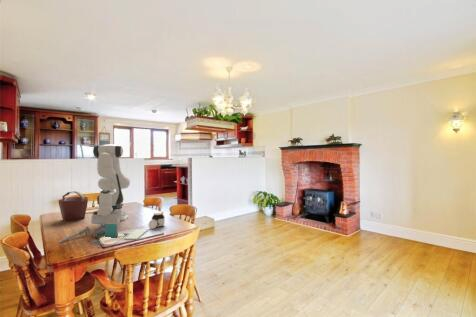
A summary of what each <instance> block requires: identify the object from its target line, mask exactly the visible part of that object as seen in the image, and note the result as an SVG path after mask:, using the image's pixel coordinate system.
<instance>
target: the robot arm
mask: <svg viewBox="0 0 476 317" xmlns="http://www.w3.org/2000/svg"><path fill="white" fill-rule="evenodd" d="M92 153H93V156H94V157H95V158H97V162H96V165H97V166H96V169H97V175H99V176H100V177H101V178H100V179H99V180H98V182H97V184H98V188H99V189H101V191H99V195H97V197H96V199H97V200H96V201H97V202H96V203H97V205H98V209H97V210H93V211H92V212H91V214H92V216H91V218H90V219H91V224H92V225H99V226H100V227H101V226H103V225H105V224H106V223H118V224H120V221H125V220H127V219H128V218H129V216H130V215H128V214H127V210H125V209H124V207H123V206H124V195H123V192H122V190H123V189H127V188H129V187H130V184H131V181H130V179H129V177H127V176H126V175H124V174H123V172H122V170H121V165H120V157H123V154H124V150H123V147H122V145H119V144H97V145H95V146H94V147H93V150H92Z"/></svg>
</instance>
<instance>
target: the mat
mask: <svg viewBox="0 0 476 317" xmlns="http://www.w3.org/2000/svg"><path fill="white" fill-rule="evenodd" d="M122 233H123V232H122ZM123 234H124V235H125V237H127V236H128V235H129V233H126V232H125V233H123ZM98 239H99V238H97V239H95V240H94V241H92V242H91V243H89V245H90V246H91V245H92V246H93V245H94V246H98V245H101V243H100V241H99V240H98ZM113 245H115V244H113ZM113 245H112V246H113Z"/></svg>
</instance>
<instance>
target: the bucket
mask: <svg viewBox="0 0 476 317" xmlns="http://www.w3.org/2000/svg"><path fill="white" fill-rule="evenodd" d="M71 193H75V194H77V195H78V196H71V197H66V196H69V195H70V194H71ZM88 202H89V196H84V195H83V194H82V193H81V192H79V191H68V192H66V193H65V194H64V195H62V196H61V199H58V207H59V211H60V214H61V218H62V221H64V220H65V221H64V222H77V221H80V220H84V219H85V218H86V212H87V207H88Z"/></svg>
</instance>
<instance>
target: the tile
mask: <svg viewBox="0 0 476 317" xmlns="http://www.w3.org/2000/svg"><path fill="white" fill-rule="evenodd" d="M104 225H105V233H104V235H105V237H111V238H117V237H118V233H119V223H106V224H104Z"/></svg>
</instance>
